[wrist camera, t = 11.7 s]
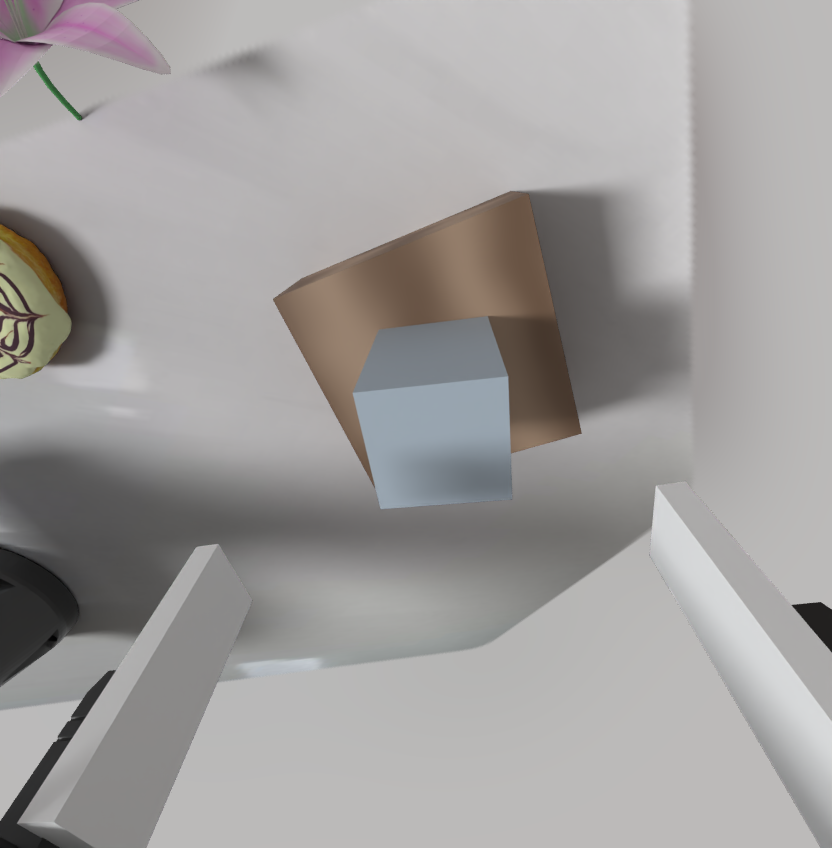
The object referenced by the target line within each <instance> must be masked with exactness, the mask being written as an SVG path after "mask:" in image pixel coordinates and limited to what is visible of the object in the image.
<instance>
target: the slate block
mask: <svg viewBox="0 0 832 848" xmlns="http://www.w3.org/2000/svg"><path fill="white" fill-rule="evenodd" d="M353 397H354V401H355V405H356V409H357V413H358V418H359V422H360V426H361V430H362V434H363V438H364V443H365V447H366V451H367V455H368V459H369V464H370V468H371V472H372V476H373V480H374V484H375V489H376V493H377V497H378V501H379V505H380V509H390V508H404V507H417V506H431V505H444V504H458V503H472V502H485V501H499V500H512V475H511V445H510V415H509V386H508V374H507V371H506V368H505V366H504V363H503V360H502V357H501V354H500V351H499V348H498V345H497V342H496V339H495V336H494V333H493V331H492V328H491V325H490V322H489V319H488V316H485V317H477V318H469V319H461V320H453V321H445V322H436V323H428V324H420V325H412V326H404V327H396V328H388V329H380V330H378V333H377V335H376V338H375V340H374V342H373V345H372V347H371V350H370V352H369V354H368V357H367V359H366V362H365V364H364V367H363V369H362V371H361V374H360V376H359V379H358V381H357V383H356V386H355V388H354V391H353Z"/></svg>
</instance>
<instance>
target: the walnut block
mask: <svg viewBox="0 0 832 848" xmlns="http://www.w3.org/2000/svg"><path fill="white" fill-rule="evenodd" d="M273 301H274V302H275V304H276V306H277V308H278V310H279V312H280V314H281V315H282V317H283V319H284V321H285V323H286V325H287V326H288V328H289V330H290V332H291V334H292V336H293V338H294V339H295V341H296V343H297V345H298V347H299V349H300V350H301V352H302V354H303V356H304V358H305V360H306V362H307V363H308V365H309V367H310V369H311V371H312V373H313V375H314V376H315V378H316V380H317V382H318V384H319V386H320V387H321V389H322V391H323V393H324V395H325V397H326V399H327V400H328V402H329V404H330V406H331V408H332V410H333V411H334V413H335V415H336V417H337V419H338V421H339V423H340V424H341V426H342V428H343V430H344V432H345V434H346V435H347V437H348V439H349V441H350V443H351V445H352V447H353V448H354V450H355V452H356V454H357V456H358V458H359V459H360V461H361V463H362V465H363V467H364V469H365V471H366V472H367V474H368V476H369V478H370V480H371V482H372V484H373V485H374V487H375V484H374V480H373V476H372V472H371V468H370V464H369V459H368V455H367V451H366V447H365V443H364V438H363V434H362V430H361V426H360V422H359V418H358V413H357V409H356V405H355V401H354V397H353V391H354V388H355V386H356V383H357V381H358V379H359V376H360V374H361V371H362V369H363V367H364V364H365V362H366V359H367V357H368V354H369V352H370V350H371V347H372V345H373V342H374V340H375V338H376V335H377V333H378V330H380V329H388V328H396V327H404V326H412V325H420V324H428V323H436V322H445V321H453V320H461V319H469V318H477V317H485V316H488V319H489V322H490V325H491V328H492V331H493V333H494V336H495V339H496V342H497V345H498V348H499V351H500V354H501V357H502V360H503V363H504V366H505V368H506V371H507V374H508V386H509V415H510V445H511V453H514V452H517V451H521V450H525V449H528V448H532V447H535V446H539V445H543V444H546V443H550V442H553V441H557V440H560V439H564V438H568V437H571V436H575V435H578V434H582V433H581V428H580V424H579V419H578V415H577V410H576V406H575V401H574V397H573V392H572V387H571V383H570V378H569V374H568V369H567V365H566V360H565V356H564V351H563V347H562V342H561V338H560V333H559V329H558V324H557V320H556V315H555V311H554V306H553V302H552V297H551V293H550V288H549V284H548V279H547V275H546V270H545V266H544V261H543V257H542V252H541V248H540V243H539V238H538V234H537V229H536V225H535V220H534V216H533V211H532V207H531V202H530V198H529V194H527V193H520V192H513V191H510V192H507V193H505V194H503V195H500V196H498V197H496V198H493V199H491V200H488V201H486V202H484V203H481V204H479V205H476V206H474V207H472V208H469V209H467V210H464V211H462V212H460V213H457V214H455V215H452V216H450V217H448V218H445V219H443V220H440V221H438V222H436V223H433V224H431V225H429V226H426V227H424V228H421V229H419V230H417V231H414V232H412V233H409V234H407V235H405V236H402V237H400V238H397V239H395V240H393V241H390V242H388V243H385V244H383V245H381V246H378V247H376V248H373V249H371V250H369V251H366V252H364V253H361V254H359V255H357V256H354V257H352V258H350V259H347V260H345V261H342V262H340V263H338V264H335V265H333V266H330V267H328V268H326V269H323V270H321V271H318V272H316V273H314V274H311V275H309V276H306V277H304V278H302V279H300V280H299V281H298V282H296V283H295V284H293V285H292V286H291V287H289V288H288V289H286V290H285V291H284V292H282V293H281V294H279V295H278V296H277V297H275V298H274V299H273Z"/></svg>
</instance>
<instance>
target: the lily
mask: <svg viewBox="0 0 832 848" xmlns="http://www.w3.org/2000/svg"><path fill="white" fill-rule="evenodd" d="M136 1H138V0H0V38H2V39H0V97H1V96H2V95H4V94H5V93H6V92H7V91H8V90H9V89H10V88H12V87H13V86H14V85H15V84H16V83H17V82H18V81H19V80H20V79H21V78H22V77H23V76H24V75H25V74H26V73H27V72H28V71H29V70H30V69H31V68H32V67H34V68H35V70H36V71H37V73H38V74H39V76H40V77H41V78H42V80H43V81H44V83H45V84H46V86H47V87H48V88H49V89H50V90H51V92H52V93H53V94H54V95H55V96H56V97H57V98H58V99H59V101H60V102H61V103H62V104H63V105H64V106H65V107H66V108H67V109H68V110H69V111H70V112H71V113H72V114H73V115H74V116H75V117H76V119H77V120H81V119H82V117H81V115H80V114H79V113H78V112H77V111H76V110H75V109H74V108H73V107H72V106H71V105H70V104H69V103H68V102H67V100H66V99H65V98H64V97H63V96H62V95H61V94H60V92H59V91H58V90H57V89H56V88H55V87H54V85H53V84H52V83H51V81H50V80H49V78H48V77H47V75H46V74H45V72H44V71H43V69H42V67H41V65H40V64H39V62H38V60H39V59H40V58H41V57H42V56H43V55H44V54H45V52H46V51H47V50H48V49H49V48H50V47H51V46H52V45H53V44H54V45H61V46H66V47H70V48H75V49H79V50H83V51H87V52H91V53H94V54H98V55H100V56H104V57H107V58H110V59H113V60H117V61H120V62H123V63H126V64H129V65H132V66H135V67H138V68H141V69H144V70H148V71H152V72H155V73H159V74H171V72H170V66H169V65H168V63H167V62H166V60H165V59H164V57H163V56H162V54H161V53H160V52H159V51H158V50H157V48H156V47H155V46H154V45H153V44H152V43H151V41H150V40H149V39H148V38H147V37H146V36H145V35H144V34H143V33H142V32H141V31H140V30H139V29H138V28H137V27H136V26H135V25H134V24H133V23H132V22H131V21H130V20H129V19H128V18H126V17H125V16H124V15H123V14H122V13H120V12H119V11H118V10H116V9H118V8H120V7H123V6H125V5H128V4H131V3H133V2H136ZM3 39H4V40H3Z"/></svg>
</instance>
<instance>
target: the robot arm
mask: <svg viewBox="0 0 832 848" xmlns="http://www.w3.org/2000/svg"><path fill="white" fill-rule="evenodd" d="M649 555H650V557H651V559H652V560H653V562H654V564H655V566H656V568H657V569H658V571H659V573H660V574H661V576H662V578H663V579H664V581H665V583H666V584H667V586H668V588H669V590H670V591H671V593H672V595H673V597H674V598H675V600H676V601H677V603H678V605H679V607H680V609H681V610H682V612H683V614H684V615H685V617H686V619H687V620H688V622H689V624H690V626H691V627H692V629H693V631H694V632H695V634H696V636H697V638H698V639H699V641H700V643H701V644H702V646H703V648H704V650H705V651H706V653H707V655H708V656H709V658H710V660H711V661H712V663H713V665H714V667H715V668H716V670H717V672H718V673H719V675H720V677H721V679H722V680H723V682H724V684H725V685H726V687H727V689H728V691H729V692H730V694H731V696H732V697H733V699H734V701H735V702H736V704H737V706H738V708H739V709H740V711H741V713H742V714H743V716H744V718H745V719H746V721H747V723H748V725H749V726H750V728H751V730H752V731H753V733H754V735H755V737H756V738H757V740H758V742H759V743H760V745H761V747H762V749H763V750H764V752H765V754H766V755H767V757H768V759H769V760H770V762H771V764H772V766H773V767H774V769H775V771H776V772H777V774H778V776H779V778H780V779H781V781H782V783H783V784H784V786H785V788H786V789H787V791H788V793H789V795H790V796H791V798H792V800H793V801H794V803H795V805H796V807H797V808H798V810H799V812H800V813H801V815H802V817H803V819H804V820H805V822H806V824H807V825H808V827H809V829H810V831H811V832H812V834H813V835H814V837H815V839H816V841H817V843H818V844H819V846H820V848H832V609H830V608H828V607H827V606H825V605H824V604H823V603H821V602H818V603H807V604H797V605H791V604H790V603H789V602H788V601H787V600H786V598H785V597H784V596H783V595H782V594H781V593H780V591H779V590H778V589H777V588H776V587H775V585H774V584H773V583H772V582H771V581H770V580H769V579H768V577H767V576H766V575H765V574H764V573H763V572H762V570H761V569H760V568H759V567H758V566H757V565H756V563H755V562H754V561H753V560H752V559H751V557H750V556H749V555H748V554H747V553H746V551H745V550H744V549H743V548H742V547H741V546H740V544H739V543H738V542H737V541H736V540H735V539H734V537H733V536H732V535H731V534H730V533H729V532H728V530H727V529H726V528H725V527H724V526H723V525H722V523H721V522H720V521H719V520H718V519H717V518H716V516H715V515H714V514H713V513H712V512H711V510H709V508H708V507H707V506H706V505H705V504H704V502H703V501H702V500H701V499H700V498H699V496H698V495H697V494H696V493H695V492H694V491H693V489H692V488H691V487H690V486H689V485H688V484H687V482H686V481H684V482H676V483H669V484H661V485H656V491H655V501H654V512H653V522H652V533H651V543H650V554H649ZM252 601H253V600H252V599H251V597H250V595H249V594H248V592H247V590H246V589H245V587H244V585H243V584H242V582H241V580H240V579H239V577H238V575H237V574H236V572H235V570H234V569H233V567H232V565H231V564H230V562H229V560H228V559H227V557H226V555H225V554H224V552H223V551H222V549H221V547H220V546H219V544H213V545H206V546H198V547H196V548H195V550H194V551H193V553H192V554H191V556H190V557H189V559H188V560H187V562H186V564H185V565H184V567H183V568H182V570H181V571H180V573H179V574H178V576H177V577H176V579H175V580H174V582H173V584H172V585H171V587H170V588H169V590H168V591H167V593H166V594H165V596H164V597H163V599H162V601H161V602H160V604H159V605H158V607H157V608H156V610H155V611H154V613H153V614H152V616H151V617H150V619H149V621H148V622H147V624H146V625H145V627H144V628H143V630H142V631H141V633H140V634H139V636H138V638H137V639H136V641H135V642H134V644H133V645H132V647H131V648H130V650H129V651H128V653H127V654H126V656H125V658H124V659H123V661H122V662H121V664H120V665H119V667H118V668H117V670H113V671H108V672H107V673H106V674H105V675H104V676H103V677H102V678H101V679H100V680H99V681H98V682H97V683H96V684H95V685H94V686H93V687H92V688H91V689H90V690H89V691H88V692H87V694H86V695H85V697H84V698H83V700H82V701H81V703H80V704H79V706H78V707H77V709H76V710H75V712H74V713H73V715H72V716H71V717H72V718H71V721H68V722H67V724H66V725H65V727H64V728H63V729H62V731H61V732H60V734H59V735H58V740H57V741H56V742H54V743H53V744H52V746H51V747H50V749H49V750H48V752H47V753H46V755H45V756H44V758H43V759H42V761H41V762H40V763H39V765H38V766H37V768H36V769H35V771H34V772H33V774H32V775H31V777H30V779H29V780H28V781H27V783H26V784H25V786H24V787H23V788H22V790H21V792H20V793H19V795H18V796H17V798H16V799H15V800H14V802H13V803H12V805H11V806H10V808H9V809H8V811H7V812H6V814H5V815H4V817H3V818H2V819H1V821H0V848H146V847H147V845H148V842H149V840H150V838H151V836H152V833H153V831H154V829H155V826H156V824H157V822H158V819H159V817H160V815H161V812H162V810H163V808H164V805H165V803H166V801H167V798H168V796H169V793H170V791H171V789H172V787H173V784H174V782H175V780H176V777H177V775H178V773H179V770H180V768H181V766H182V763H183V761H184V759H185V756H186V754H187V752H188V750H189V747H190V745H191V743H192V740H193V738H194V735H195V733H196V731H197V728H198V726H199V724H200V722H201V719H202V717H203V715H204V712H205V710H206V707H207V705H208V703H209V701H210V698H211V696H212V694H213V691H214V689H215V687H216V684H217V682H218V680H219V677H220V675H221V673H222V670H223V668H224V666H225V664H226V661H227V659H228V657H229V654H230V652H231V650H232V647H233V645H234V643H235V640H236V638H237V636H238V633H239V631H240V629H241V626H242V624H243V622H244V619H245V617H246V615H247V612H248V610H249V608H250V605H251V603H252ZM77 619H78V607H77V604H76V601H75V599H74V597H73V596H72V594H71V593H70V592H69V590H68V589H67V588H66V587H65V586H64V585H63V584H62V583H61V582H60V581H59V580H58V579H57V578H56V577H55V576H53V575H52V574H51V573H49V572H48V571H47V570H45V569H44V568H42V567H40V566H39V565H37V564H35V563H34V562H32V561H30V560H28V559H26V558H24V557H21V556H19V555H17V554H14V553H12V552H9V551H6V550H3V549H0V687H1V686H2V685H4V684H5V683H6V682H8V681H9V680H10V679H12V678H13V677H14V676H16V675H17V674H18V673H20V672H21V671H22V670H24V669H25V668H26V667H28V666H29V665H31V664H32V663H33V662H35V661H36V660H37V659H39V658H40V657H41V656H43V655H44V654H45V653H47V652H48V651H49V650H51V649H52V648H53V647H55V646H56V645H57V644H58V643H59V642H60V641H61V640H62V639H63V638H64V637H65V635H66V634H67V633H68V632H69V631H70V629H71V628H72V627H73V626H74V624H75V623H76V621H77Z"/></svg>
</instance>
